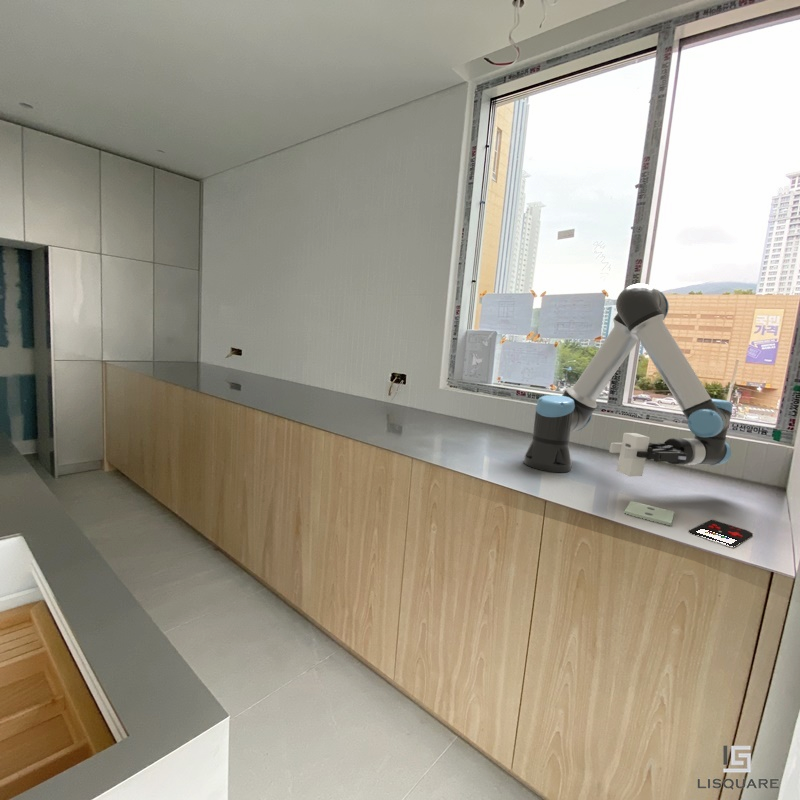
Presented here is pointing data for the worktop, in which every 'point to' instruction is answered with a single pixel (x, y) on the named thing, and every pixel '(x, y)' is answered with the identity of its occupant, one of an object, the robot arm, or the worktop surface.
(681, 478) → the worktop surface
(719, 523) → the handheld gaming device
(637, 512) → the outlet plate
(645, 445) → the block
